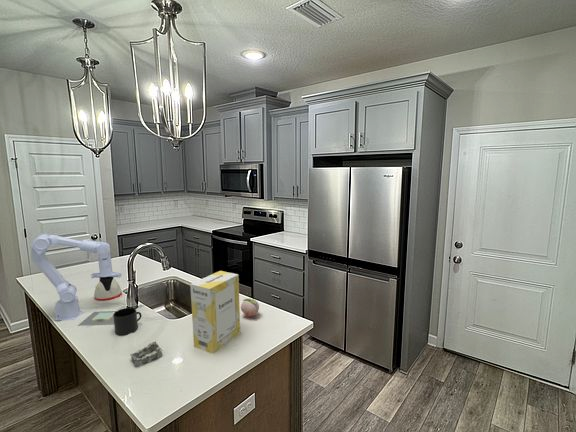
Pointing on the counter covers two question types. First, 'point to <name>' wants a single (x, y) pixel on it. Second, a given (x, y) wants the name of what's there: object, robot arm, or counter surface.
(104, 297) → the cream dome
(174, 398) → the counter surface
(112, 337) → the counter surface
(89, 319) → the picture frame
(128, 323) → the mug
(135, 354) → the grey rough flat block
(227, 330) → the pasta box
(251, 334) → the counter surface
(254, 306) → the decorative fruit
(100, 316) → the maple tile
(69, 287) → the robot arm
